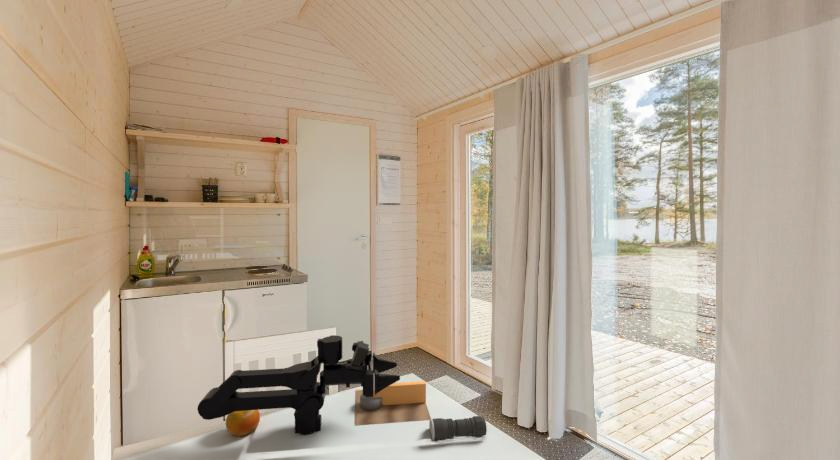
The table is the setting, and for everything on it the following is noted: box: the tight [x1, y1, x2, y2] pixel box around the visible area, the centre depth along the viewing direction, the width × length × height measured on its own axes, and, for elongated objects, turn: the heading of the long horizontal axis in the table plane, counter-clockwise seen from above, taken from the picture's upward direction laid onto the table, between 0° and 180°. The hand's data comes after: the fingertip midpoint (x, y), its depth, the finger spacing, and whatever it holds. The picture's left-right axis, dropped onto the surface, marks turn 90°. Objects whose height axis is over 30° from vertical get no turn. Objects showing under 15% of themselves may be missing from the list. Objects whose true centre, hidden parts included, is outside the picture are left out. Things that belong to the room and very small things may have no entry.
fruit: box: [225, 410, 261, 437], centre depth 113 cm, size 9×9×8 cm
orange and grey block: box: [360, 380, 427, 410], centre depth 126 cm, size 20×7×6 cm, turn 98°
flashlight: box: [428, 415, 487, 442], centre depth 111 cm, size 15×5×5 cm, turn 99°
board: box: [354, 389, 432, 426], centre depth 126 cm, size 22×22×2 cm
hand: (398, 370), depth 115 cm, fingers open, 9 cm apart
